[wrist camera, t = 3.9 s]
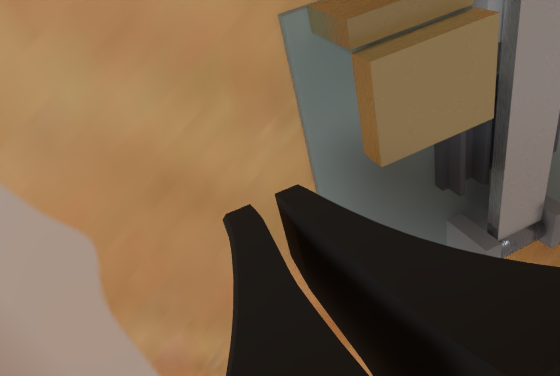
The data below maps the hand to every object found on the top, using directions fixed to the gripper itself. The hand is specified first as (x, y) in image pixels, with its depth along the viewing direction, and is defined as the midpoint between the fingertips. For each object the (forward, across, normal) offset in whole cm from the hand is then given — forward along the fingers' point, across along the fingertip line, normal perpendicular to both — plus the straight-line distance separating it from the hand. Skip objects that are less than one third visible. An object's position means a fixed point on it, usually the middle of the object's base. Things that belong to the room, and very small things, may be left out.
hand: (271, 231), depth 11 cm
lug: (+8, -8, 0) cm, 11 cm away
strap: (+7, -14, +6) cm, 17 cm away
